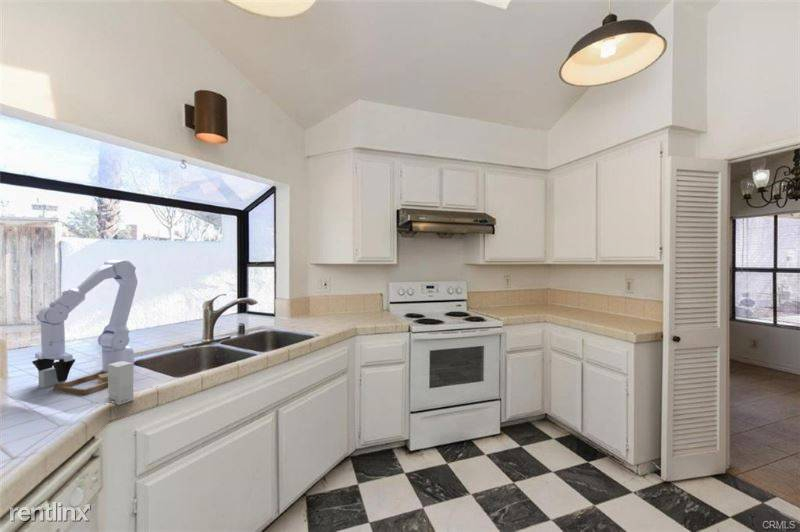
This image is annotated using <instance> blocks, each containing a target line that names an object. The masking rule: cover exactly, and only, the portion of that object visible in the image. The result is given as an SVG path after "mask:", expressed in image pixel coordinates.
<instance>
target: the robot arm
mask: <svg viewBox="0 0 800 532" xmlns="http://www.w3.org/2000/svg"><path fill="white" fill-rule="evenodd" d="M112 278H113V280H114V281H116V282H117V284H118V286H119V287H118V290H117V294H116V296H115V300H114V305H113V307H112V312H111V316H110V318H109V322H108V324H107V325H106V326H104V328H103V330H102V333H101V334H100V335H99V336H98V338H97V343H98V345H99V346H100V347H101V367H102V368H101V370H102V371H108V364H112V363H116V362H120V361H125V362H129V363H133V365H135V353H134V352H135V351H134V349H133V348H132V347H131V346H128V344H129V343H130V336H129V332H130V330H129V328H128V326H127V324H128V319H129V316H130V313H131V309H132V305H133V301H134V298H135V293H136V290H137V286H138V278H137V274H136V266H135V265H134V264H133V263H132V262H131V261H129V260H127V259H122V260H117V259H108V260H106V261H105V262H104V263H102V264H100V265H99V266H98V267H97V268H96V270H94V272H92V274H90V275H89V276H88V277H87V278H86V279H85V280H84V281H82V282H81V283H80V284H79V285H78V286H77V287H76V288H70V289H68V290H63V291H62V292H61V295H60V296H58V298H56V299H55V300H54V301H51V302H50V303H48V304H49V305H48V306H44V307H42V308H41V309H40V310H39V311H38V313H37V315H36V319H37V321H39V322H40V341H41V342H40V345H41V351H38V352H35V353H34V358H35V359H36V360H33V361H31V362H32V364H33V365H34V367H36V369H37V371H41V370H44V369H48V368H52V367H54V368H55V370H56V374H57V380H58V382H62V381H65V380H66V381H67V380H68V378H69V377H68V376H69V374H70V371H71V369H72V367H73V365H74V364H75V362H76V359H75V358H73V354H72V353H69V352H67V351H66V337H65V335H66V332H65V331H66V330H65V327H66V326H65V321H67V319H68V318H69V313H71V312H72V311H74V309H76V308H77V307H78V306H79V305H80V304H81V303H83V302H84V301H85V300H86V294H88V293H89V292H90V291H92V290H93V289H94V288H95V287H97V286H98V285H99V284H101V283H102V282H103V281H104V280H108V279H112ZM55 360H56V361H55ZM62 383H63V382H62Z"/></svg>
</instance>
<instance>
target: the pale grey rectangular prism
mask: <svg viewBox="0 0 800 532" xmlns="http://www.w3.org/2000/svg"><path fill="white" fill-rule="evenodd" d="M37 371H38V370H37ZM37 375H38V388H41V389H45V388H48V387H52V386H56V385H59V384H62V383H65V382H67V380H65V381H62V382H58V380H57V374H56V370H55V368H54V367H52V368H48V369H44V370H41V371H38V374H37Z"/></svg>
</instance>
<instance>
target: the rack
mask: <svg viewBox="0 0 800 532" xmlns="http://www.w3.org/2000/svg"><path fill="white" fill-rule="evenodd" d="M104 373H108V371H103V370H102V371H98V372H95V373H92V374H88V375H85V376H82V377H78V378H76V379H73V380H69V381H66V382H62V383H59V384H56V385H52V386H53V387H52V390H53V392H60V393H66V394H72V395H73V394H74V395H80V396H86V395H89V394H92V393H96V392H97V391H101V390H103V389H106V388H108V382H105V383H98V384H95V385H93V386H91V387H87V388H82V387H81V388H80V387H74V386H77V385H79V384H83V383H86V382H89V381H91V380H95V379H98V375H99V374H104Z"/></svg>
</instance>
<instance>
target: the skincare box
mask: <svg viewBox="0 0 800 532" xmlns="http://www.w3.org/2000/svg"><path fill="white" fill-rule="evenodd" d="M107 389H108V390H107V393H108V394H107V396H108V398H109V399H111V400H110V401H113V402H114V403H113V404H115V405H118V406H119V405H123V404H126V403H128V402H132V401H134V399H135V398H134V394H135V393H134V366H133V363H129V362H125V361H120V362H116V363H112V364H108V387H107Z"/></svg>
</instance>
